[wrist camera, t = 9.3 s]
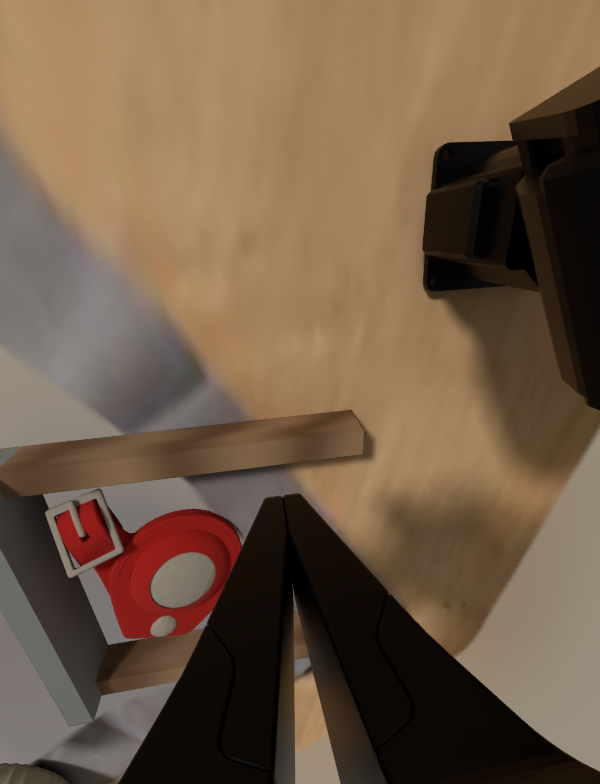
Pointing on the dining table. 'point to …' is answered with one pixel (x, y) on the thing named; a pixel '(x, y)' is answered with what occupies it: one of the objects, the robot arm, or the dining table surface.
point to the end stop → (48, 607)
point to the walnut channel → (169, 460)
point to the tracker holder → (149, 562)
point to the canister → (28, 775)
